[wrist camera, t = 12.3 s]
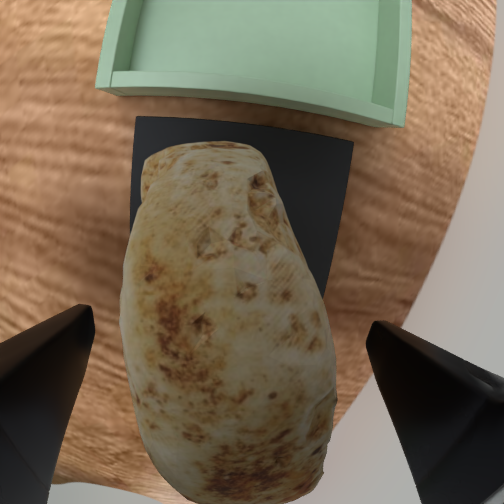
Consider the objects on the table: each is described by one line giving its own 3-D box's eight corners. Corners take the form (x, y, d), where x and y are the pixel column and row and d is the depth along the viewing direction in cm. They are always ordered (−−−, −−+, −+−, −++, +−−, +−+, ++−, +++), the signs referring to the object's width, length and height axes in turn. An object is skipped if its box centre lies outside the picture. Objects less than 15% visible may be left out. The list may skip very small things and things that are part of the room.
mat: (350, 141, 13) (354, 142, 12) (301, 365, 17) (303, 370, 16) (138, 116, 11) (135, 116, 11) (138, 358, 15) (137, 362, 15)
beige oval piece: (287, 345, 16) (346, 527, 6) (215, 359, 15) (226, 548, 6) (256, 130, 12) (392, 120, 2) (163, 148, 11) (0, 202, 2)
